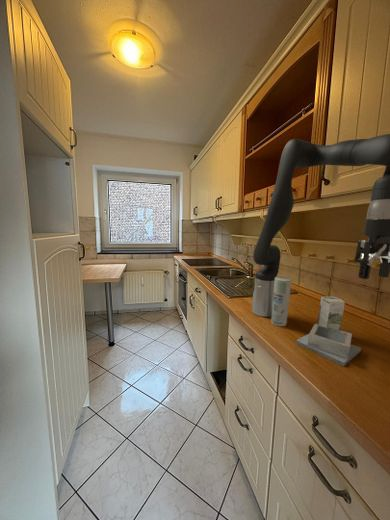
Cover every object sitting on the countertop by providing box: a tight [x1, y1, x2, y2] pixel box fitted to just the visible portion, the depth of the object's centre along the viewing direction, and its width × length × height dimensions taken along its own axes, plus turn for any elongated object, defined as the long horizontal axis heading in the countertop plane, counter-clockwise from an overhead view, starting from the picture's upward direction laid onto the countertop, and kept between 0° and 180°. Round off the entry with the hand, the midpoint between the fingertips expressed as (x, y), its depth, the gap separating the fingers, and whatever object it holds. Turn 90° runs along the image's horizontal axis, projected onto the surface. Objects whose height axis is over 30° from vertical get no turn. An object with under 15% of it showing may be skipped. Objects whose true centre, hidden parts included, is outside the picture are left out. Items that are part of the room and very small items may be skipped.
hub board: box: [295, 333, 362, 367], centre depth 73 cm, size 15×14×1 cm
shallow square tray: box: [307, 323, 353, 359], centre depth 72 cm, size 11×11×4 cm
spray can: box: [270, 276, 292, 327], centre depth 90 cm, size 6×6×20 cm
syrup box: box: [316, 296, 346, 330], centre depth 82 cm, size 6×6×14 cm
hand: (373, 277), depth 58 cm, fingers open, 8 cm apart
